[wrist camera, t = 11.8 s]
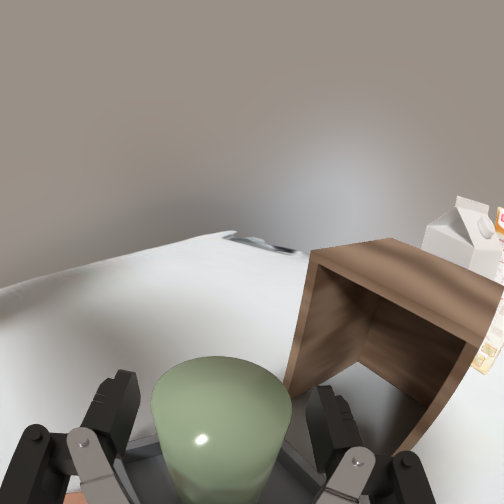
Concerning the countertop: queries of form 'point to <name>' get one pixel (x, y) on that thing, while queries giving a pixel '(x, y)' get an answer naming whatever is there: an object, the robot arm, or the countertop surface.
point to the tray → (162, 492)
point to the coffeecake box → (500, 329)
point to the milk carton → (465, 238)
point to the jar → (220, 428)
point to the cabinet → (391, 321)
